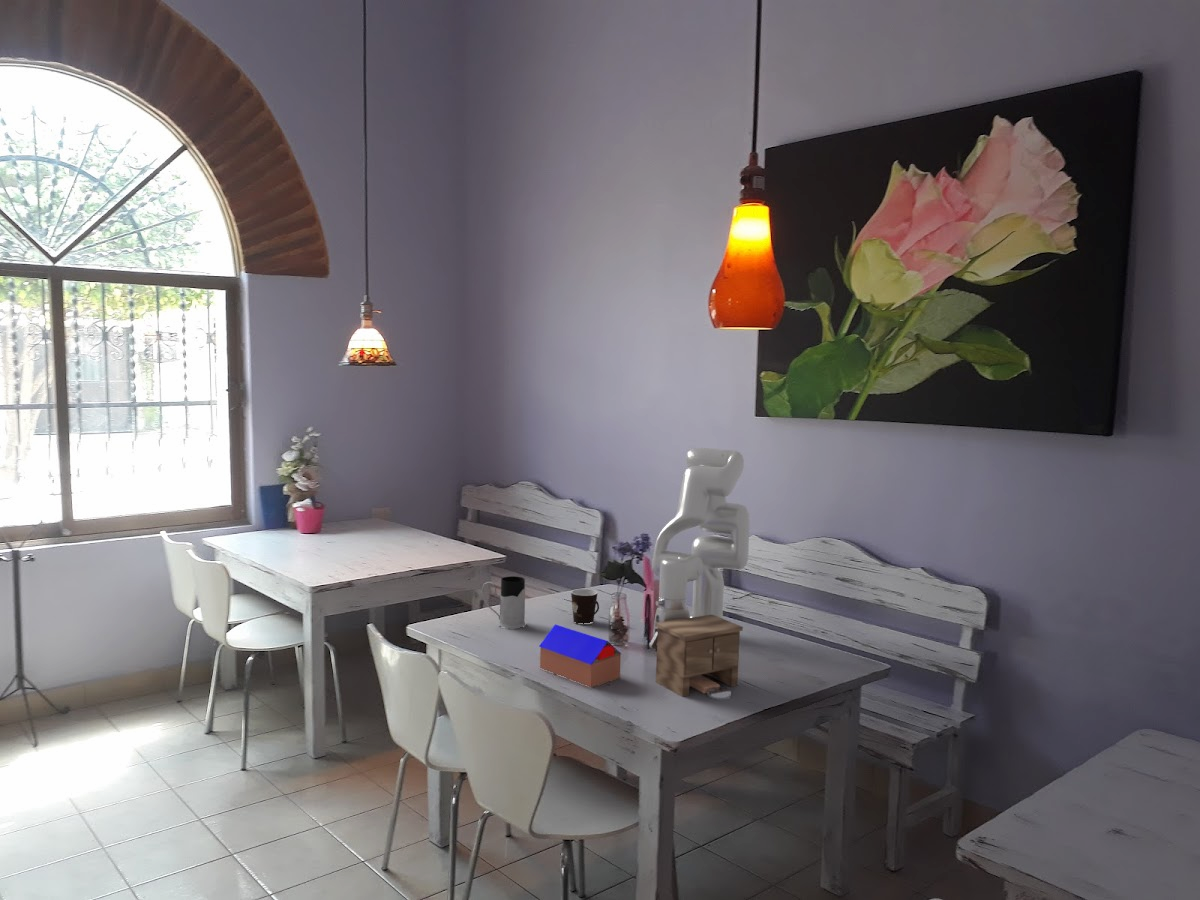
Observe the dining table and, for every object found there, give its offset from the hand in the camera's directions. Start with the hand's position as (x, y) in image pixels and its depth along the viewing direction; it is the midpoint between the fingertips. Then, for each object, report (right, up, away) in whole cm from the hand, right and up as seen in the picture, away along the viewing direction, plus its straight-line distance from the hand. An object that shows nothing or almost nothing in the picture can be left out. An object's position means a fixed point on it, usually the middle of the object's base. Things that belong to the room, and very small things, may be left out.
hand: (670, 667), depth 251 cm
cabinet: (+6, -2, -10) cm, 12 cm away
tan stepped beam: (+4, -2, -7) cm, 8 cm away
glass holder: (-50, +4, +38) cm, 63 cm away
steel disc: (+11, -3, -18) cm, 22 cm away
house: (-25, -1, -5) cm, 26 cm away
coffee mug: (-25, +4, +42) cm, 49 cm away
